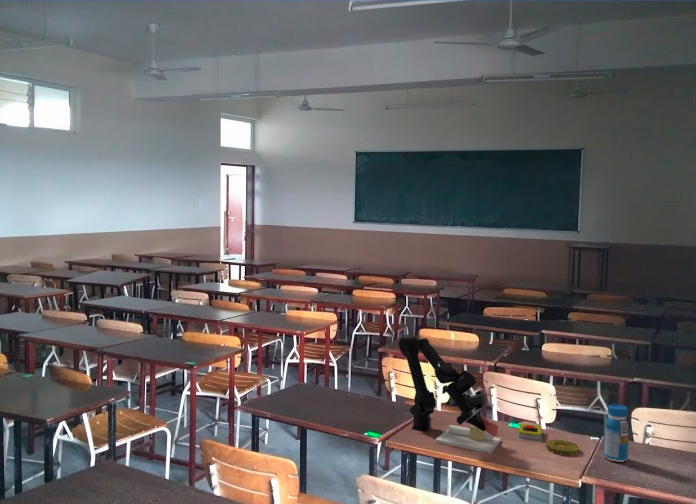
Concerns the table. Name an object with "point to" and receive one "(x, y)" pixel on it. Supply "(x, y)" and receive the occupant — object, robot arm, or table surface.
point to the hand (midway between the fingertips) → (484, 430)
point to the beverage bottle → (616, 433)
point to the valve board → (469, 438)
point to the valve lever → (490, 426)
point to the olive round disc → (562, 447)
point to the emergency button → (530, 432)
